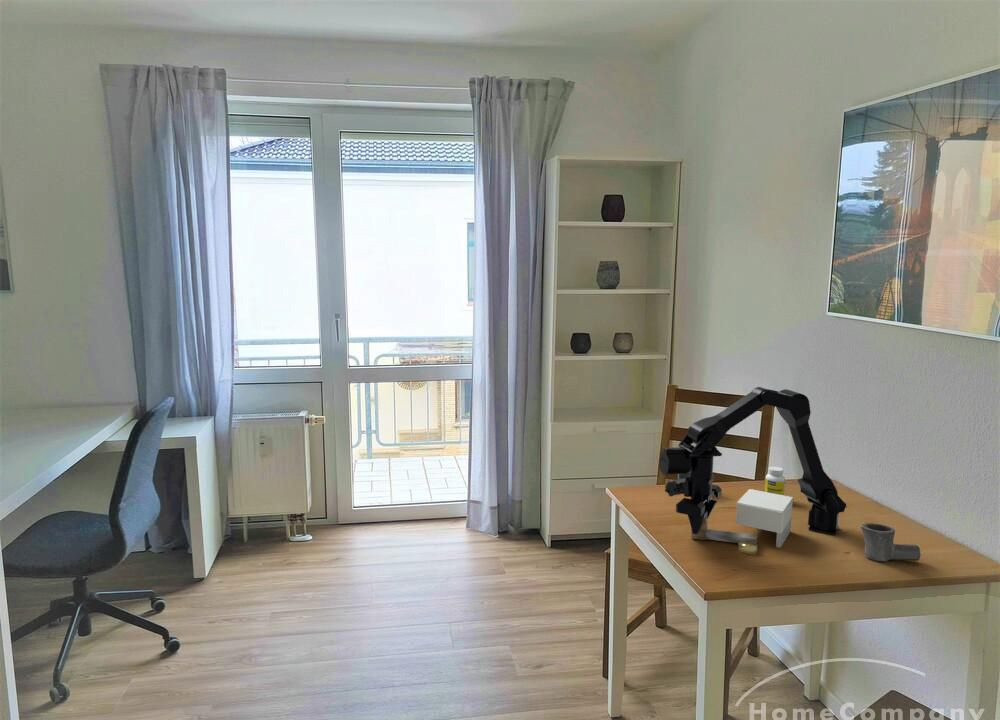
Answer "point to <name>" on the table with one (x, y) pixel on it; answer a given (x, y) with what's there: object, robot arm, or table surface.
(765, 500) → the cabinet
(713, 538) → the taupe block mallet
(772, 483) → the supplement bottle
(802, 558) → the table surface
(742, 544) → the token
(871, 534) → the pipe
